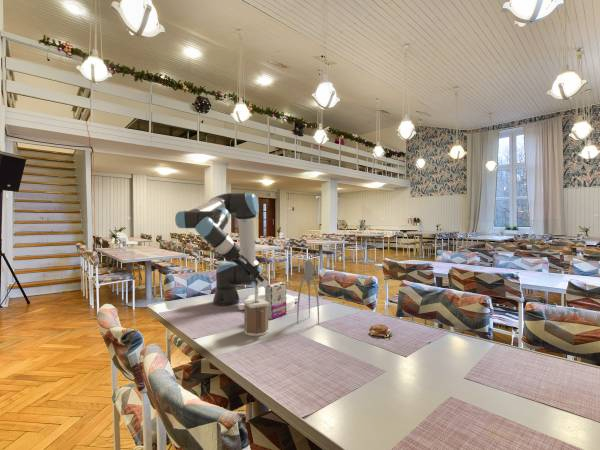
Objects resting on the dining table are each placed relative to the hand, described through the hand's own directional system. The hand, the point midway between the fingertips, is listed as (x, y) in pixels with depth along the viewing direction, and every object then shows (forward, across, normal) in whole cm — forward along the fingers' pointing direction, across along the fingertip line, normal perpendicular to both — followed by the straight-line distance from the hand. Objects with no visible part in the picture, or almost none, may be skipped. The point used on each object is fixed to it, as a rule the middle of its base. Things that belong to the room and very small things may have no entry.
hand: (264, 284), depth 137 cm
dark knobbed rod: (+6, 0, -11) cm, 13 cm away
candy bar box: (+24, -16, -5) cm, 29 cm away
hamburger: (+44, +30, +14) cm, 56 cm away
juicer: (+32, -2, +3) cm, 32 cm away
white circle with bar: (+28, -34, -2) cm, 44 cm away
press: (+12, +1, -17) cm, 21 cm away
